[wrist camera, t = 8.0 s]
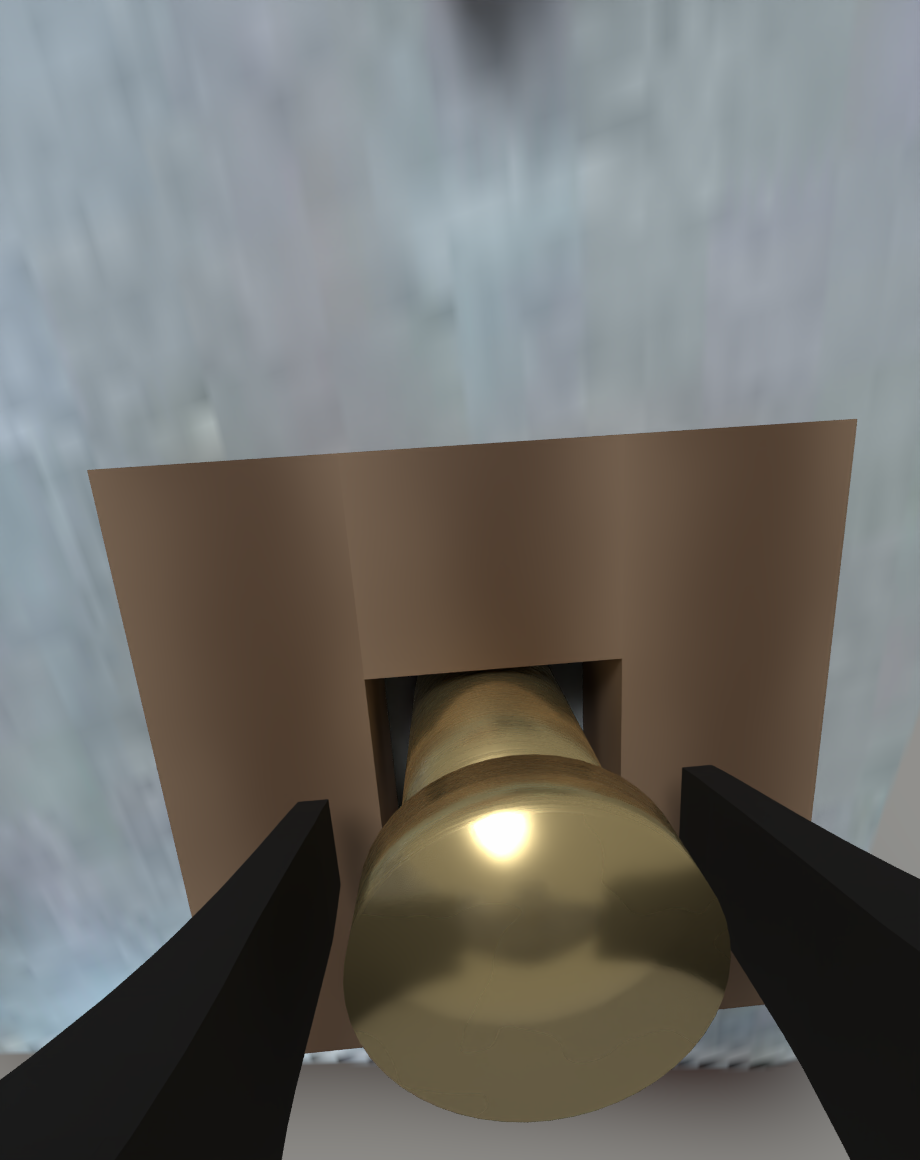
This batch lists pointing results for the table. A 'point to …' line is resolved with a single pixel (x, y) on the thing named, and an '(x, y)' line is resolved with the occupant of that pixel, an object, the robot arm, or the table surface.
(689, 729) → the socket plate
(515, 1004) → the brass pin
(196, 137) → the table surface
